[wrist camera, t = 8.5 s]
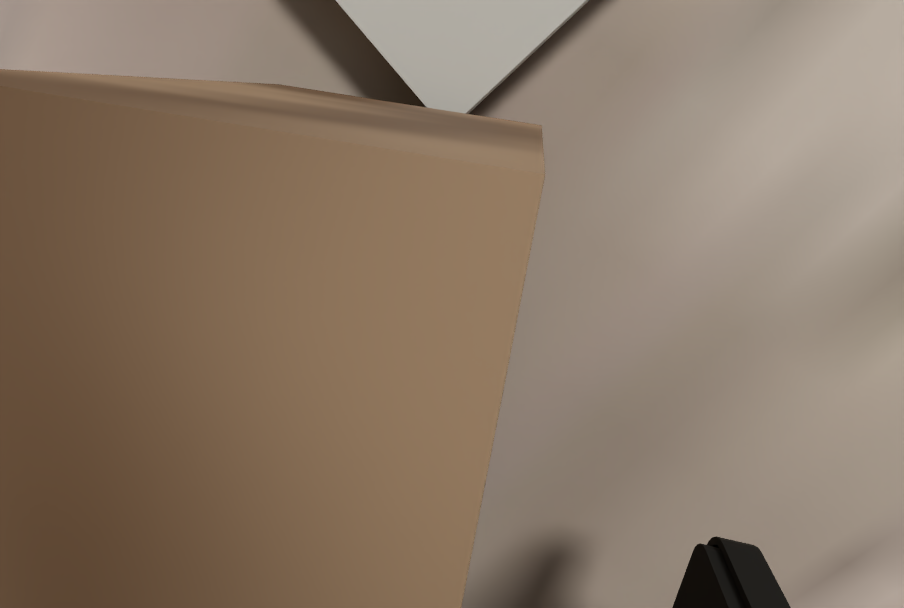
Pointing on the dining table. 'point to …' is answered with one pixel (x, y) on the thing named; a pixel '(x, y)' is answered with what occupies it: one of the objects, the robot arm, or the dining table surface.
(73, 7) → the dining table surface
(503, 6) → the baseboard molding
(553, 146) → the dining table surface
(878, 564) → the dining table surface
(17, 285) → the rail
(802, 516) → the dining table surface
